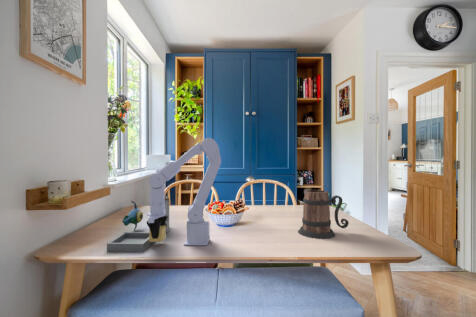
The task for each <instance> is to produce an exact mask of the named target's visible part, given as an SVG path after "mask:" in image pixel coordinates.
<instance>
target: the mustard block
mask: <svg viewBox="0 0 476 317" xmlns="http://www.w3.org/2000/svg"><path fill="white" fill-rule="evenodd" d="M148 232H149V242H152V243H156V242H157V243H162V242H163V241H164V240H165V239H166V237H167V232H166V226H160V229H159V236H158V238H157V239H153V238H152V235H151V231H150V229H148Z"/></svg>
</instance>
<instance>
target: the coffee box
mask: <svg viewBox="0 0 476 317" xmlns="http://www.w3.org/2000/svg"><path fill="white" fill-rule="evenodd" d="M165 210H166V214H165V216H168V218H167V220H166V222H165V226H166V233H168V232H170V198H169V195H165Z"/></svg>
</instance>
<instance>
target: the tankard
mask: <svg viewBox="0 0 476 317" xmlns="http://www.w3.org/2000/svg"><path fill="white" fill-rule="evenodd" d="M336 199H338V203H337V200H336ZM302 201H303V212H302V217H301V218H302V226H301V227H300V228H299V229H298V231H297V233H298V234H300V235H301V236H302V237H306V238H309V239H314V238H315V240H329V239H333V238H336V233H335V232H334V231H333V229H332V227H331V225H332V220H331V212H330V207H331V205H330V204H332V205H333V206H334V207H335V209H334V221H335V224H336V226H338V227H339V228H342V229H346V228H347V227H348V226H349V220H348V219H346V218H344V217H343V218H341V219H340V221H339V211H340V209H341V207H342V204H343V198H342V196H340V195H333V196H332V197H331V198H330V196H329V191H327V190H320V189H308V190H305V191H304V197H303V199H302ZM336 203H337V204H336ZM341 224H342V225H341Z"/></svg>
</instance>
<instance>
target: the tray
mask: <svg viewBox="0 0 476 317" xmlns="http://www.w3.org/2000/svg"><path fill="white" fill-rule="evenodd" d="M152 243H153V242H149V231H148V232H147V231H146V232H145V231H142V232H141V231H136V232H135V231H124V232H123V233H121V234H120V235H118V236H117V237H114V238H113V239H112V240H110V241H109V242H107V243H106V252H144V251H146V249H147V248H148V247H149V246H150V245H151V244H152Z"/></svg>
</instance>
